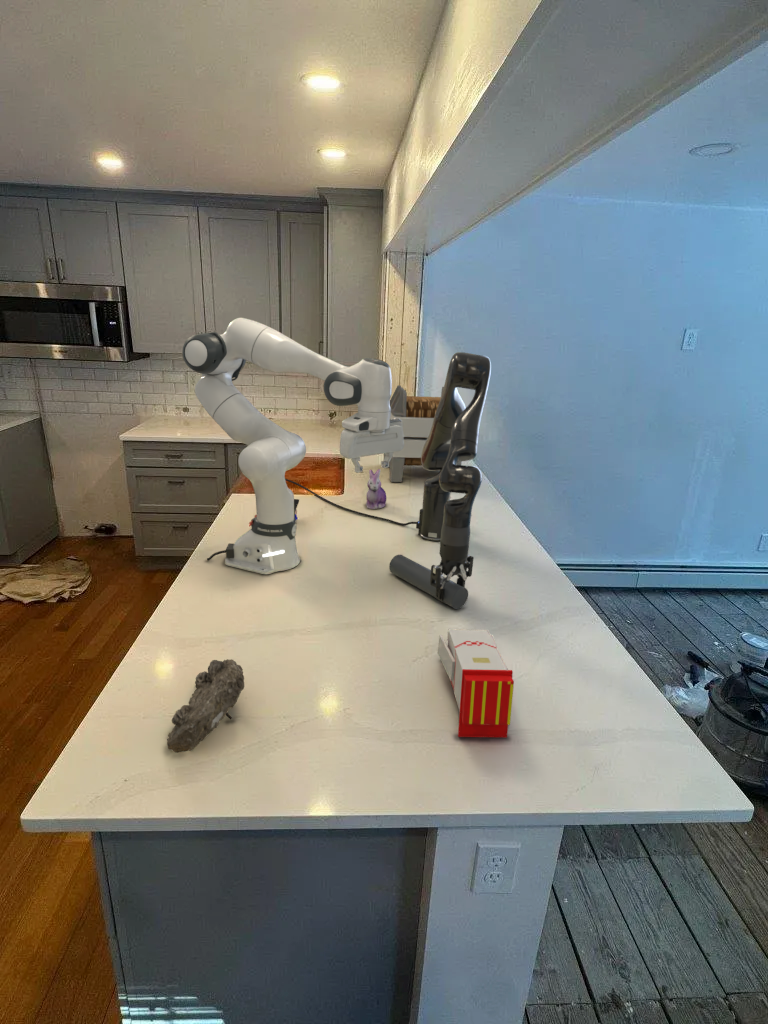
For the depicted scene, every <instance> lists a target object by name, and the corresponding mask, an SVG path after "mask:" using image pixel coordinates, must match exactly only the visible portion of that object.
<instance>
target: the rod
mask: <svg viewBox="0 0 768 1024" xmlns="http://www.w3.org/2000/svg"><path fill="white" fill-rule="evenodd" d="M388 569H389V572H390V573H391V574H393V575H394V576H396V577H397V578H400V579H402V580H403V581H404V582H406V583H408V584H409V585H412V586H414V587H415V588H417V589H419V590H421V591H423V592H425V593H426V594H428V595H429V596H432V598H433V597H434V598H436V597H435V595H436V588H435V587H433V586H431V585H430V578H431V568H428V567H426V566H424V565H422V564H420V563H419V562H416V561H415V560H412V559H410V558H408V557H406V556H404V555H403V554H396V555H394V556H393V558H391V560H390V562H389V566H388ZM435 582H436V580H435ZM442 582H443V579H442V580H441V582H440V583H441V584H442ZM444 589H445V590H444V600H443V601H441V602H442V603H444V604H446V605H447V606H449V607H451V608H453V609H454V610H459V609H461V608H463V607H464V606H465V605H466V603H467V601H468V598H469V591H468V589H467V588H466V587H465V588H464V587H462V586H461V585H459V584H457V582H455V581H453V580H451V579H450V580H449V582H447V583H446V585H445V587H444Z"/></svg>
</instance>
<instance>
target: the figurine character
mask: <svg viewBox="0 0 768 1024" xmlns="http://www.w3.org/2000/svg"><path fill="white" fill-rule="evenodd" d="M299 502H300V499H298V498H294V517H295V519H296V521H297V520H298V515H297V514H298V510H297V508H298V505H299Z"/></svg>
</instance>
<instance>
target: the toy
mask: <svg viewBox="0 0 768 1024" xmlns="http://www.w3.org/2000/svg"><path fill="white" fill-rule="evenodd" d="M446 640H447V643H446V641H445V639H444V636H443V635H442V634H439V637H438V646H437V656H438V657H439V659H440V661H441V663H442V666H443V668H444V670H445V672H446V674H447V677H448V679H449V681H450V684H451V687H452V690H453V693H454V697H455V701H456V705H457V708H458V711H459V714H458V715H459V716H458V730H457V731H458V732H457V737H458V738H508V731H509V726H510V725H511V717H512V707H513V697H514V696H513V695H514V684H515V680H514V679H513V673H514V671H513V670H512V669H508V667H507V665H506V662H505V661H504V659H503V658H502V655H501V653H500V651H499V649H498V647H497V643H496V639H495V637H494V635H493V634H491V632H490V631H489V629H467V628H466V629H465V628H463V629H461V628H460V629H459V628H448V630H447V639H446Z"/></svg>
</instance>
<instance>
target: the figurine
mask: <svg viewBox="0 0 768 1024" xmlns="http://www.w3.org/2000/svg"><path fill="white" fill-rule="evenodd" d="M380 475H381V468H378V469H377V470H376V471H375V472H373V470H372V469H369V470H368V476H369V479H368V481H367V483H366V485H367V488H368V490H367V491H366V502H365V507H366V508H367V509H370V510H377V509H382V508H384V507H386V503H387V493H386V491H385V489H384V488H383V487H382V481H381V479H380Z"/></svg>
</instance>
